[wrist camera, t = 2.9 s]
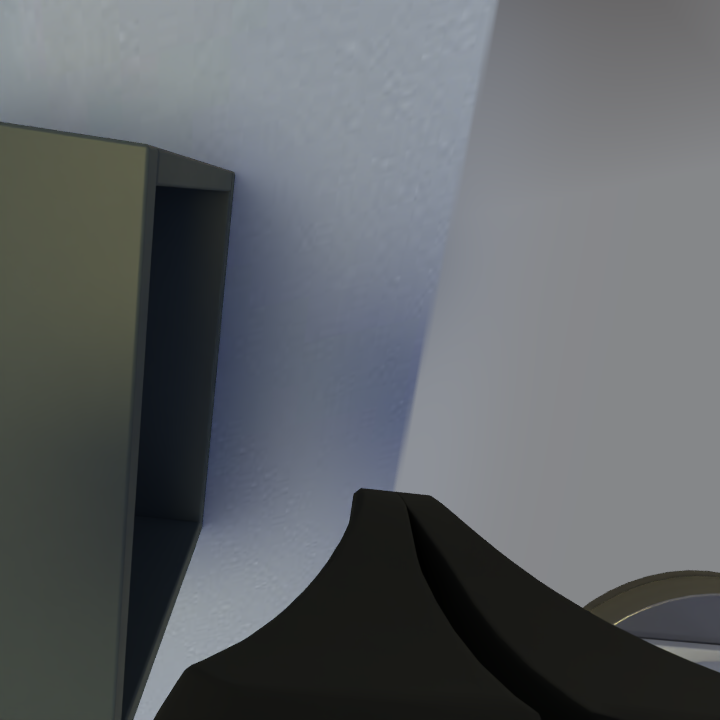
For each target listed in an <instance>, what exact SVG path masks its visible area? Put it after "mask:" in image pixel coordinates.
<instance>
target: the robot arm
mask: <svg viewBox="0 0 720 720" xmlns="http://www.w3.org/2000/svg"><path fill="white" fill-rule="evenodd" d="M154 720H720V645H711V644H699V643H687V642H676V641H664V640H653V639H641V638H639V637H637V636H635V635H633V634H631V633H629V632H627V631H625V630H622V629H620V628H618V627H616V626H614V625H612V624H611V623H609V622H607V621H605V620H603V619H601V618H599V617H598V616H596V615H594V614H592V613H590V612H588V611H587V610H585V609H584V608H582V607H580V606H579V605H577V604H575V603H573V602H572V601H570V600H568V599H567V598H565V597H564V596H562V595H560V594H559V593H557V592H555V591H554V590H552V589H550V588H549V587H547V586H546V585H545V584H543V583H542V582H540V581H538V580H537V579H536V578H534V577H533V576H532V575H530V574H529V573H527V572H526V571H524V570H523V569H522V568H521V567H519V566H518V565H516V564H515V563H514V562H512V561H511V560H510V559H508V558H507V557H506V556H504V555H503V554H502V553H501V552H499V551H498V550H497V549H495V548H494V547H493V546H492V545H491V544H489V543H488V542H487V541H486V540H484V539H483V538H482V537H481V536H480V535H478V534H477V533H476V532H475V531H474V530H472V529H471V528H470V527H469V526H468V525H466V524H465V523H464V522H463V521H462V520H460V519H459V518H458V517H457V516H456V515H455V514H454V513H452V512H451V511H450V510H449V509H448V508H446V507H445V506H444V505H443V504H442V503H440V502H439V501H438V500H436V499H435V498H433V497H432V496H429V495H420V494H411V493H402V492H392V491H383V490H373V489H364V488H361V489H359V490H358V491H357V492H355V493H354V495H353V501H352V508H351V514H350V521H349V524H348V526H347V529H346V531H345V533H344V535H343V537H342V539H341V541H340V543H339V544H338V546H337V547H336V549H335V551H334V552H333V554H332V555H331V557H330V559H329V560H328V562H327V563H326V565H325V566H324V567H323V569H322V570H321V571H320V573H319V574H318V575H317V576H316V578H315V579H314V580H313V581H312V582H311V583H310V585H309V586H308V587H307V588H306V589H305V590H304V591H303V592H302V593H301V594H300V595H299V596H298V597H297V598H296V599H295V600H294V601H293V602H292V603H291V604H290V605H289V606H288V607H287V608H286V609H285V610H284V611H282V612H281V613H280V614H279V615H278V616H277V617H275V618H274V619H273V620H271V621H270V622H269V623H267V624H266V625H264V626H263V627H262V628H260V629H259V630H257V631H256V632H255V633H253V634H252V635H251V636H249V637H248V638H246V639H244V640H243V641H241V642H239V643H237V644H235V645H233V646H231V647H229V648H227V649H225V650H223V651H221V652H219V653H217V654H215V655H213V656H211V657H209V658H207V659H205V660H202V661H200V662H198V663H195V664H193V665H191V666H190V667H188V668H187V669H186V670H185V671H184V672H183V674H182V675H181V677H180V678H179V680H178V681H177V683H176V684H175V686H174V687H173V689H172V690H171V692H170V694H169V695H168V697H167V698H166V700H165V701H164V703H163V704H162V706H161V708H160V709H159V711H158V713H157V715H156V716H155V718H154Z"/></svg>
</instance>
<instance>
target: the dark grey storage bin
mask: <svg viewBox="0 0 720 720" xmlns="http://www.w3.org/2000/svg"><path fill="white" fill-rule="evenodd" d="M234 179H235V173H234V172H232V171H229V170H226V169H223V168H220V167H217V166H213V165H210V164H207V163H204V162H201V161H198V160H195V159H191V158H188V157H185V156H182V155H179V154H176V153H172V152H169V151H166V150H163V149H160V148H157V147H154V146H151V145H148V144H142V143H136V142H129V141H123V140H116V139H110V138H103V137H96V136H90V135H83V134H77V133H70V132H63V131H57V130H50V129H44V128H37V127H31V126H24V125H17V124H11V123H4V122H0V720H133V719H134V716H135V713H136V711H137V708H138V705H139V702H140V699H141V697H142V694H143V691H144V688H145V686H146V683H147V680H148V677H149V674H150V672H151V669H152V666H153V663H154V660H155V658H156V655H157V652H158V649H159V647H160V644H161V641H162V638H163V635H164V633H165V630H166V627H167V624H168V621H169V619H170V616H171V613H172V610H173V607H174V605H175V602H176V599H177V596H178V594H179V591H180V588H181V585H182V582H183V580H184V577H185V574H186V571H187V568H188V566H189V563H190V560H191V557H192V555H193V552H194V549H195V546H196V543H197V541H198V538H199V535H200V532H201V529H202V523H203V512H204V501H205V491H206V480H207V469H208V458H209V448H210V437H211V426H212V415H213V405H214V394H215V383H216V372H217V362H218V351H219V340H220V329H221V319H222V308H223V297H224V286H225V276H226V265H227V254H228V243H229V233H230V222H231V211H232V200H233V190H234Z"/></svg>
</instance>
